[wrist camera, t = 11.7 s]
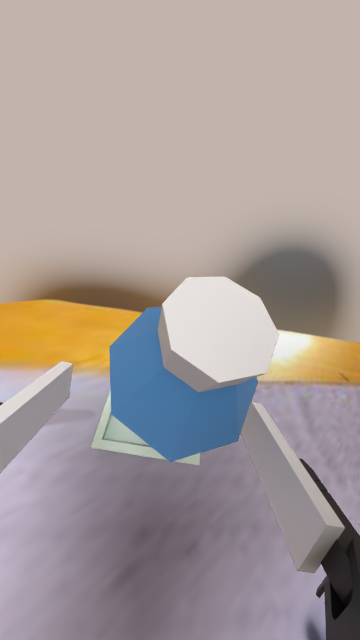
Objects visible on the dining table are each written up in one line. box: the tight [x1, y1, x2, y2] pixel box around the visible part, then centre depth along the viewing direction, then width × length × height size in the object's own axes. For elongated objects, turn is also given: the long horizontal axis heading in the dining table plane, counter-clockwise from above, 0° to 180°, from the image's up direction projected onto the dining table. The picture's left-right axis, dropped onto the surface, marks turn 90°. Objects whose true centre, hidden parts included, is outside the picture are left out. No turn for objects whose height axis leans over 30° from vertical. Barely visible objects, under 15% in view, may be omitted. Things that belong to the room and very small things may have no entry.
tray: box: [90, 389, 200, 465], centre depth 27 cm, size 14×14×2 cm
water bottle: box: [110, 277, 279, 462], centre depth 16 cm, size 9×9×25 cm
